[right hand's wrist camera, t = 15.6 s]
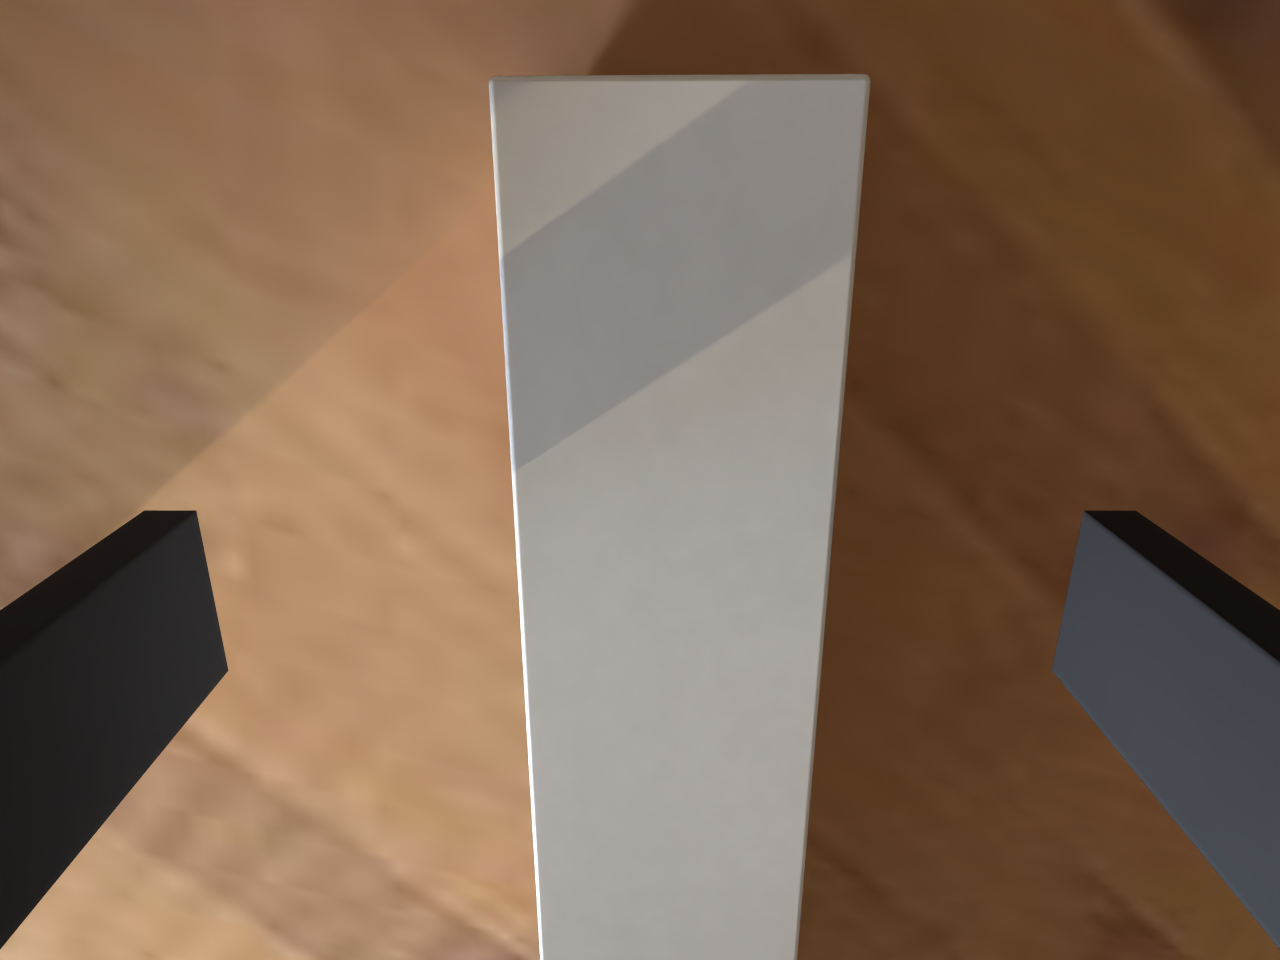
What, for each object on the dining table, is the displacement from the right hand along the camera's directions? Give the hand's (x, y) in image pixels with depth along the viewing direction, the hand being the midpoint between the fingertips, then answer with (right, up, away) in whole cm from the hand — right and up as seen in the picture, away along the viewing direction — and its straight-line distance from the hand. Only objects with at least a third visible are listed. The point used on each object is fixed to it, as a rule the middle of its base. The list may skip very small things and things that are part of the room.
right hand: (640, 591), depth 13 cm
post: (+1, -16, +15) cm, 22 cm away
